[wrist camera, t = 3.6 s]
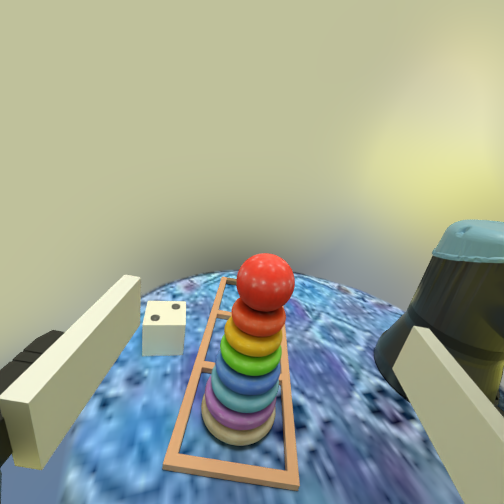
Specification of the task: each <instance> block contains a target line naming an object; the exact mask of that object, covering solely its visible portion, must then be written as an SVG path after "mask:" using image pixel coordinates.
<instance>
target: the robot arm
mask: <svg viewBox="0 0 504 504" xmlns="http://www.w3.org/2000/svg"><path fill="white" fill-rule="evenodd" d="M432 254H433V256H432V259H431V261H430V263H429V265H428V267H427V269H426V271H425V273H424V276H423V278H422V280H421V282H420V284H419V286H418V288H417V290H416V292H415V294H414V296H413V298H412V301H411V303H410V305H409V307H408V309H407V311H406V312H405V313H404V314H403V315H402V316H401V317H400V318H399V319H398V320H397V321H396V322H395V323H394V324H393V325H392V326H391V327H390V328H389V329H388V330H386V331H385V332H384V333H383V334H382V335H381V336H380V338H379V340H378V342H377V345H376V347H375V350H374V357H375V361H376V364H377V366H378V368H379V370H380V371H381V373H382V374H383V376H384V377H385V378H386V380H387V381H388V382H389V383H390V384H391V385H392V386H393V387H394V388H395V389H396V390H397V391H398V392H399V393H400V394H401V395H403V396H404V397H405V398H406V399H408V400H409V401H410V403H411V405H412V406H413V408H414V410H415V412H416V414H417V416H418V418H419V420H420V421H421V423H422V425H423V427H424V429H425V431H426V433H427V434H428V436H429V438H430V440H431V442H432V444H433V446H434V447H435V449H436V451H437V453H438V455H439V457H440V459H441V460H442V462H443V464H444V466H445V468H446V470H447V472H448V473H449V475H450V477H451V479H452V481H453V483H454V485H455V487H456V488H457V490H458V492H459V494H460V496H461V498H462V500H463V501H464V503H465V504H504V412H503V411H502V410H501V409H500V408H499V407H497V406H498V403H499V397H500V394H499V390H498V389H499V385H500V383H501V379H502V375H503V368H504V222H498V221H488V220H462V221H458V222H455V223H453V224H452V225H450V226H449V227H448V228H447V229H446V231H445V233H444V234H443V236H442V238H441V240H440V242H439V244H438V245H437V247H436V248H435V249H434V250H433V252H432ZM140 298H141V277H135V276H130V275H124V276H123V277H122V278H121V279H119V281H118V282H116V283H115V284H114V285H113V286H112V287H111V288H110V289H109V290H108V291H107V292H106V293H105V294H104V295H103V296H102V297H101V298H100V299H99V300H98V301H97V302H96V303H95V304H94V305H93V306H92V307H91V308H90V309H89V310H88V311H87V312H85V313H84V314H83V316H81V317H80V318H79V319H78V320H77V321H76V322H75V323H74V324H73V325H72V326H71V327H70V328H69V329H68V330H67V331H66V332H61V331H56V330H52V331H50V332H48V333H46V334H44V335H42V336H40V337H38V338H37V339H35V340H34V341H33V342H32V343H31V344H30V345H28V346H27V347H26V348H25V349H24V351H23V352H20V353H19V354H18V355H17V356H16V357H15V358H14V359H13V361H12V362H9V363H8V364H7V365H6V366H4V367H3V368H2V369H1V370H0V467H1V466H2V465H3V464H4V462H5V461H6V460H7V459H8V458H9V456H10V455H11V454H12V456H13V460H14V463H15V466H19V467H25V468H31V469H38V470H42V469H43V468H44V466H45V465H46V463H47V462H48V460H49V459H50V457H51V456H52V454H53V453H54V451H55V450H56V449H57V447H58V445H59V444H60V443H61V441H62V440H63V438H64V437H65V435H66V434H67V432H68V431H69V429H70V428H71V426H72V425H73V423H74V422H75V420H76V419H77V417H78V416H79V414H80V413H81V411H82V410H83V408H84V407H85V406H86V404H87V403H88V401H89V400H90V398H91V397H92V395H93V394H94V392H95V391H96V389H97V388H98V386H99V385H100V383H101V382H102V380H103V379H104V377H105V376H106V374H107V373H108V371H109V370H110V368H111V367H112V365H113V364H114V363H115V361H116V360H117V358H118V357H119V355H120V354H121V352H122V351H123V349H124V348H125V346H126V345H127V343H128V342H129V340H130V339H131V337H132V336H133V334H134V333H135V331H136V330H137V328H138V327H139V325H140ZM1 475H2V473H1V470H0V504H1Z"/></svg>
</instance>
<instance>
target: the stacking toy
mask: <svg viewBox="0 0 504 504" xmlns="http://www.w3.org/2000/svg"><path fill="white" fill-rule="evenodd" d="M236 282H237V290H238V293H239V295H240V298H239V299H237V300H236V302H235V303H234V305H233V307H232V316H231V317H230V318H229V319H228V321H227V322H226V325H225V330H224V332H225V334H224V335H223V337H222V340H221V344H220V350H219V352H218V354H217V357H216V362H215V365H214V367H213V370H212V374H211V376H210V377H209V379H208V381H207V384H206V388H205V394H204V396H203V400H202V417H203V420H204V423H205V425H206V427H207V428H208V430H209V431H210V432H211V433H212V434H213V435H214V436H215V437H216V438H218V439H219V440H221V441H223V442H225V443H227V444H231V445H236V446H244V445H249V444H253V443H255V442H257V441H259V440H261V439H262V438H263V437H264V436H265V435H266V434H267V433H268V432H269V430H270V429H271V427H272V425H273V423H274V419H275V404H276V395H277V392H278V388H279V376H280V370H281V367H280V359H281V355H282V348H281V342H282V338H283V334H282V327H283V326H284V324H285V320H286V315H285V311H284V308H283V307H282V306H283V305H285V304H286V303H287V301H288V300H289V299H290V297H291V295H292V293H293V290H294V285H295V281H294V275H293V272H292V269H291V268H290V266H289V265H288V264H287V263H286V261H284V260H283V259H282V258H280V257H278V256H276V255H273V254H267V253H265V254H257V255H254V256H252V257H250V258H249V259H247V260H246V261H245V262H244V263H243V264H242V266H241V268H240V269H239V272H238V274H237V281H236Z"/></svg>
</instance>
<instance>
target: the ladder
mask: <svg viewBox="0 0 504 504" xmlns="http://www.w3.org/2000/svg"><path fill="white" fill-rule="evenodd" d="M236 281H237V279H233V278H227V277H222V279H221V282H220V285H219V288H218V291H217V294H216V298H215V301H214V304H213V307H212V310H211V313H210V317H209V320H208V323H207V326H206V329H205V332H204V336H203V339H202V342H201V345H200V348H199V351H198V355H197V358H196V361H195V364H194V367H193V370H192V374H191V377H190V380H189V383H188V386H187V389H186V392H185V396H184V399H183V402H182V405H181V408H180V411H179V415H178V418H177V421H176V424H175V427H174V430H173V434H172V437H171V440H170V443H169V446H168V449H167V453H166V456H165V459H164V462H163V470H169V471H175V472H181V473H188V474H194V475H200V476H206V477H213V478H219V479H225V480H232V481H238V482H244V483H251V484H257V485H263V486H270V487H276V488H282V489H288V490H295V491H298V489H299V486H300V484H299V473H298V462H297V451H296V440H295V429H294V418H293V407H292V396H291V385H290V374H289V364H288V353H287V342H286V331H285V324H284V326H283V327H282V334H283V338H282V342H281V348H282V355H281V359H280V367H281V370H280V376H279V385H281V397H282V416H283V435H284V454H285V471H284V470H278V469H271V468H265V467H259V466H253V465H246V464H240V463H234V462H228V461H221V460H215V459H209V458H203V457H196V456H190V455H184V454H179V451H180V447H181V444H182V440H183V437H184V433H185V429H186V426H187V422H188V419H189V415H190V411H191V408H192V404H193V400H194V397H195V393H196V390H197V386H198V382H199V379H200V375H201V372H205V373H211V374H212V370H213V367H214V365H215V363H213V362H207V361H205V357H206V354H207V350H208V346H209V343H210V339H211V335H212V332H213V328H214V325H215V321H216V318H222V319H229V318H230V317H231V316H232V312H228V311H222V310H219V307H220V303H221V299H222V296H223V292H224V289H225V285H226V284H232V285H237V282H236ZM282 307H283V306H282Z"/></svg>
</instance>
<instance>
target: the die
mask: <svg viewBox="0 0 504 504" xmlns="http://www.w3.org/2000/svg"><path fill="white" fill-rule="evenodd" d="M185 326H186V302H181V301H148V303H147V308H146V312H145V317H144V321H143V332H142V356H167V355H183V348H184V337H185Z"/></svg>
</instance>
